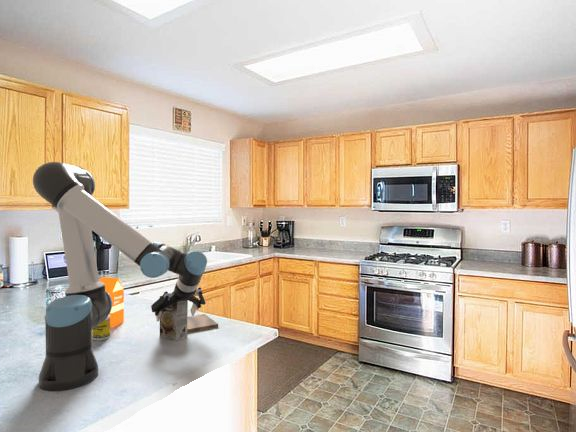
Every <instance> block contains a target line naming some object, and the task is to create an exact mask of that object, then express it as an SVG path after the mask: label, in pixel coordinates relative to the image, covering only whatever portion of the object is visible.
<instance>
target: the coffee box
mask: <svg viewBox="0 0 576 432" xmlns="http://www.w3.org/2000/svg"><path fill="white" fill-rule="evenodd" d="M161 296H162V295H160V296H159V298H160V297H161ZM174 301H175V299H174ZM188 301H189V300H186V301H180V302H177V303H175V304H172V305H170V306H168V307H167V308H165V309H164V310H162V314H161V317H160V320H159V337H160V338H164V339H167V340H171V341H174V342H177V341H180V340H182V339H185V338H187V337H188V333H187V317H188V312H189V311H188V309H189V307H188V306H189V305H188V303H189V302H188Z"/></svg>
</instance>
